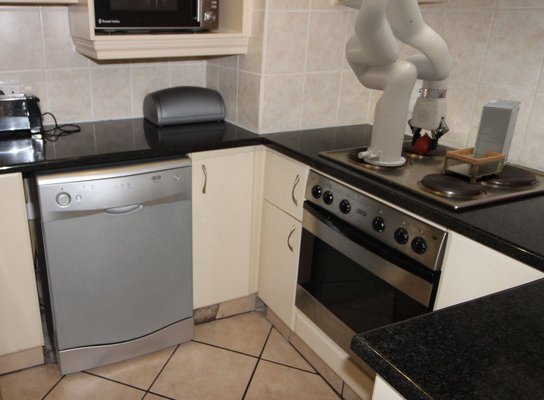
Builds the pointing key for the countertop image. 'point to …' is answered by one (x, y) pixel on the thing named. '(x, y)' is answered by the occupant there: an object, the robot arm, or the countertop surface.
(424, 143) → the onion
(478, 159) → the rack
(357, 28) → the robot arm
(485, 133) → the hard drive box
